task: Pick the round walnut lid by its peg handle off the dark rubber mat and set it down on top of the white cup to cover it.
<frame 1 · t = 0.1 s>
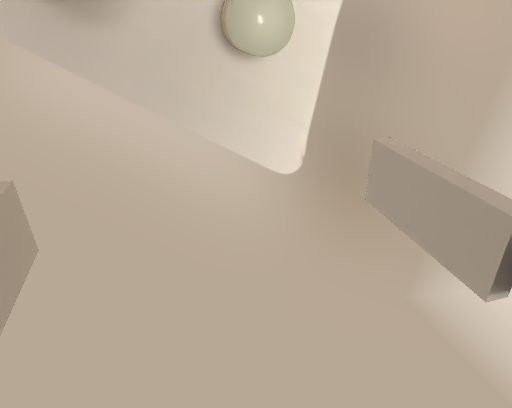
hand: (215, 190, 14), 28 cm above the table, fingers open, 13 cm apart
cream capsule cylinder: (249, 19, 37), on the table
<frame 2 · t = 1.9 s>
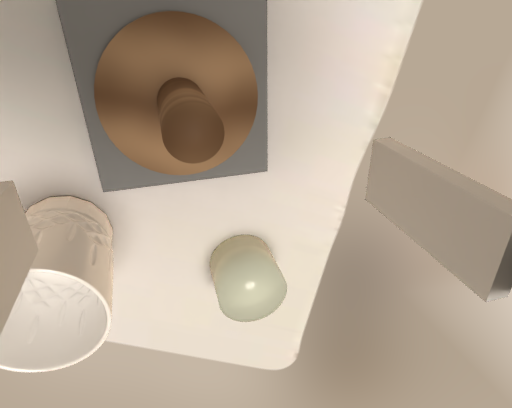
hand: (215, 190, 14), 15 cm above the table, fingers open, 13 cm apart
mat: (178, 96, 26), on the table
white cup: (68, 231, 29), on the table
walnut lid: (179, 98, 26), point 1 cm above the table, touching mat
cream capsule cylinder: (240, 260, 35), on the table
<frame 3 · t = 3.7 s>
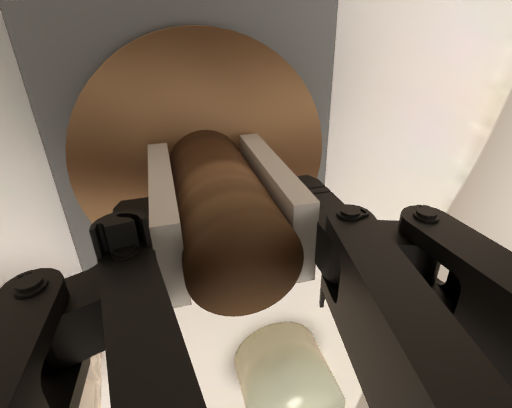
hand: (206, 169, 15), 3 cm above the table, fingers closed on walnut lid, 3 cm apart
mat: (199, 149, 18), on the table
white cup: (39, 335, 21), on the table
walnut lid: (202, 158, 17), point 1 cm above the table, touching gripper
cream capsule cylinder: (274, 352, 26), on the table
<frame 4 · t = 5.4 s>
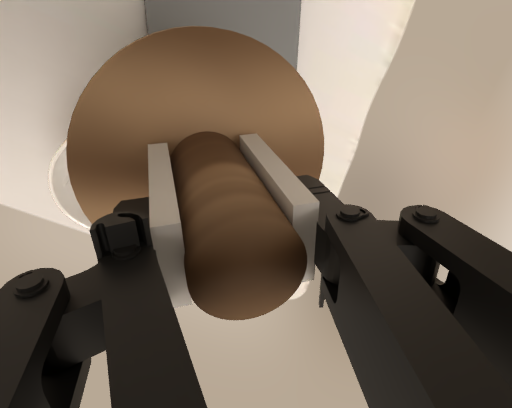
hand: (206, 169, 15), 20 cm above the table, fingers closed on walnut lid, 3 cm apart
mat: (225, 18, 31), on the table
white cup: (120, 138, 34), on the table
walnut lid: (203, 159, 17), point 19 cm above the table, touching gripper
when the fingers open (14 cm above the table, at t = 7.0 s): walnut lid drops 2 cm, resting on white cup.
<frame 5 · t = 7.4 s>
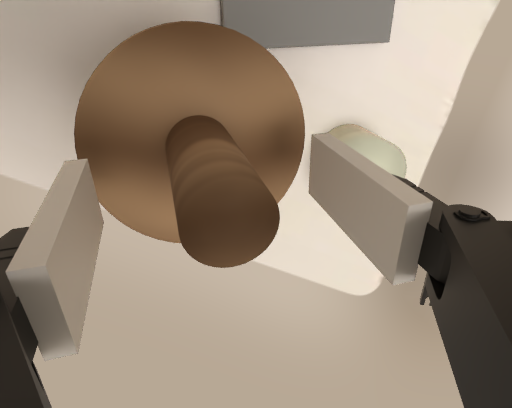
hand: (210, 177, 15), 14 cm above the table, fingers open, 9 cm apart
walnut lid: (196, 141, 18), point 10 cm above the table, touching white cup
cream capsule cylinder: (343, 156, 33), on the table
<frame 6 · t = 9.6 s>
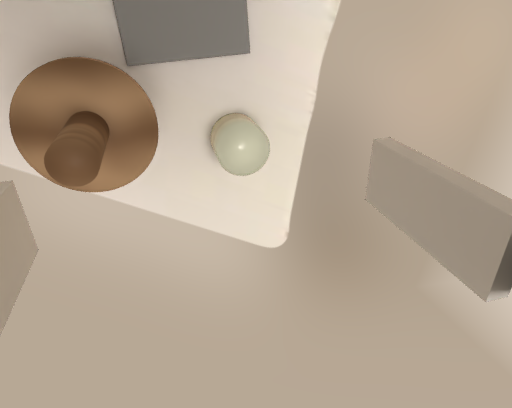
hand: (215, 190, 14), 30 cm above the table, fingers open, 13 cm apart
walnut lid: (89, 127, 30), point 10 cm above the table, touching white cup
cream capsule cylinder: (234, 137, 45), on the table
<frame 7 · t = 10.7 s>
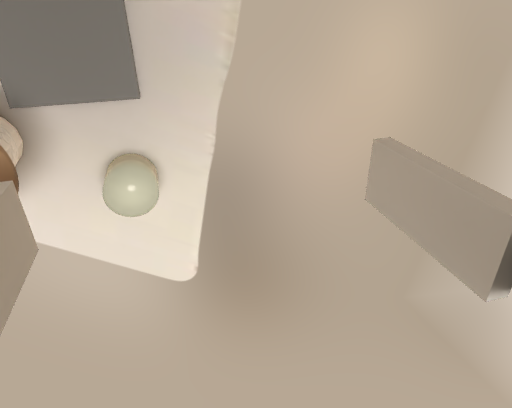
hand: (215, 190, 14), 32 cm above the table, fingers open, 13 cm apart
mat: (62, 36, 37), on the table
cream capsule cylinder: (132, 176, 45), on the table
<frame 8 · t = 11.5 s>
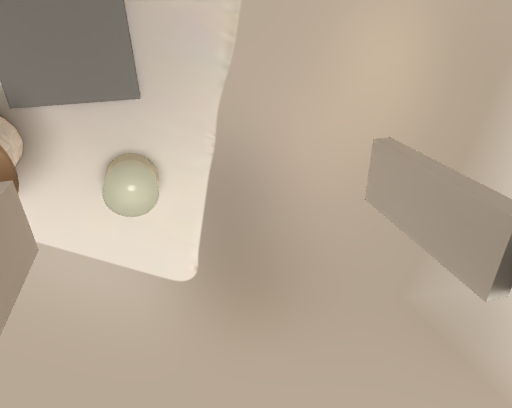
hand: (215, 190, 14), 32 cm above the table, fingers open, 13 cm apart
mat: (62, 36, 37), on the table
cream capsule cylinder: (132, 176, 45), on the table
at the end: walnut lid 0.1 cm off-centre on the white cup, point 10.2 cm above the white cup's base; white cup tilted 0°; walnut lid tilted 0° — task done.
